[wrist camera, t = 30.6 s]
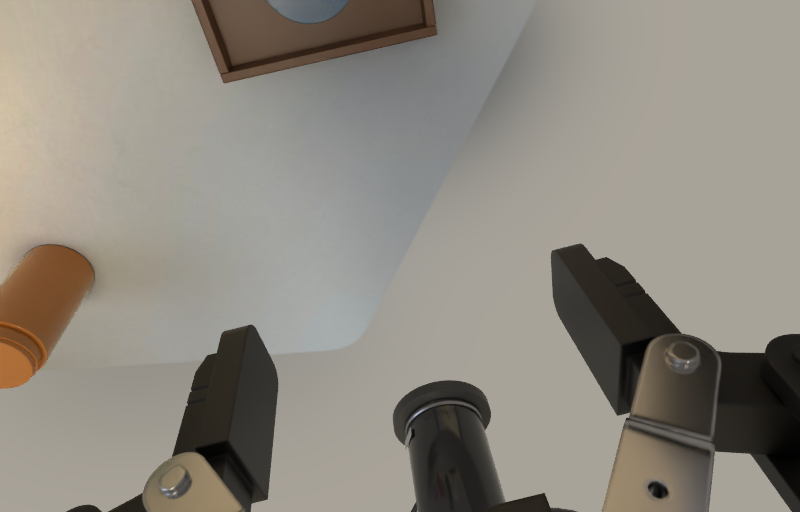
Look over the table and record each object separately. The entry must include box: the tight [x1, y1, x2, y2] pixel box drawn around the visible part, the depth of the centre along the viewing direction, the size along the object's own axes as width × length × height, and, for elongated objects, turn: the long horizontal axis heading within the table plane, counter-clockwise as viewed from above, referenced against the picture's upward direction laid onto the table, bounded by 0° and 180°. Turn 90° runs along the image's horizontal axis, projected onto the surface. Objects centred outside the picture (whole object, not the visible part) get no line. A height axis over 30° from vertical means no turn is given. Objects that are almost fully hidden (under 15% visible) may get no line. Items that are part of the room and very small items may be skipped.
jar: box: [0, 245, 95, 388], centre depth 38 cm, size 5×5×10 cm
